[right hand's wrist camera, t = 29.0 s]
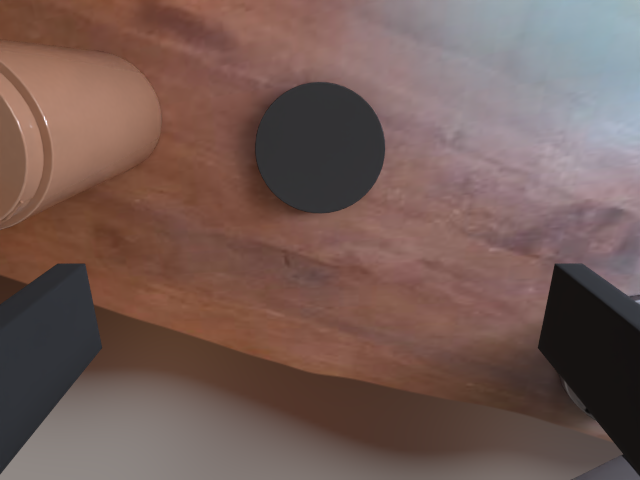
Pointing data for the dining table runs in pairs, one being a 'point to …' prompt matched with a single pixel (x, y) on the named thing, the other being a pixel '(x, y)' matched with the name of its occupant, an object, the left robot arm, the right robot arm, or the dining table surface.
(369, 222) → the dining table surface
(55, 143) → the jar
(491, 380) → the dining table surface
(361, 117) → the lid
